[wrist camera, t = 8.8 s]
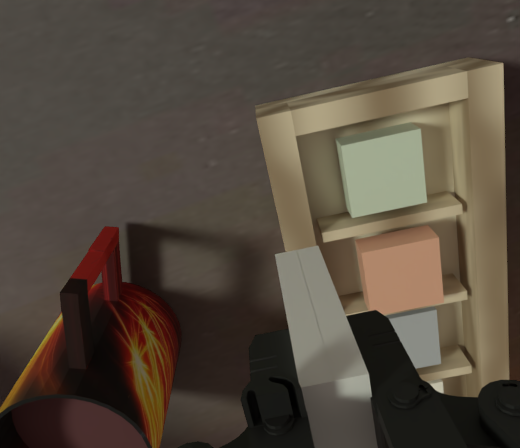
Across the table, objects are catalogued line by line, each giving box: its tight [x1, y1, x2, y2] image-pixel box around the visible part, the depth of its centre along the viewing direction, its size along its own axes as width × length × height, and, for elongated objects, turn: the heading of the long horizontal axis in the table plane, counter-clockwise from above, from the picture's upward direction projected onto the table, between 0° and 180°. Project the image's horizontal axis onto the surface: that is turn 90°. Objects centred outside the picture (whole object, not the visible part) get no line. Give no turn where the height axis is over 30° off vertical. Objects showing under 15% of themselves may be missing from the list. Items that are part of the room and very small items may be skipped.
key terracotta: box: [355, 225, 444, 315], centre depth 32 cm, size 5×5×2 cm
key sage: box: [336, 122, 427, 218], centre depth 31 cm, size 5×5×2 cm
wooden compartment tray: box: [255, 57, 509, 397], centre depth 35 cm, size 14×30×4 cm, turn 12°
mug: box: [0, 226, 181, 448], centre depth 32 cm, size 10×14×12 cm
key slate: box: [386, 306, 441, 368], centre depth 36 cm, size 5×5×2 cm
